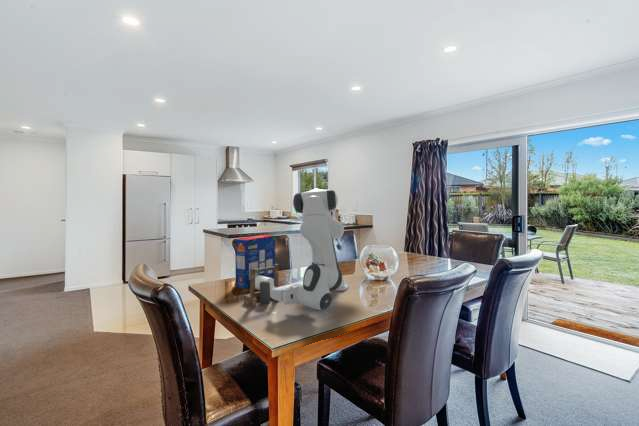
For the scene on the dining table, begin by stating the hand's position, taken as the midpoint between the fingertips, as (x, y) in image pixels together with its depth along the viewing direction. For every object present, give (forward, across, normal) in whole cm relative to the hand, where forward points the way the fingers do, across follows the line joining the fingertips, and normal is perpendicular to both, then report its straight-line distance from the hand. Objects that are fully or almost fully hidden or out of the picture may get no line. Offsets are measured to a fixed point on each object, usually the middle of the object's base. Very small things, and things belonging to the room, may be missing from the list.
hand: (280, 286), depth 149 cm
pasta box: (+46, -18, +12) cm, 51 cm away
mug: (+28, -13, +12) cm, 33 cm away
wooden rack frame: (+14, +1, +11) cm, 17 cm away
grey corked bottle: (+12, +1, +11) cm, 16 cm away
